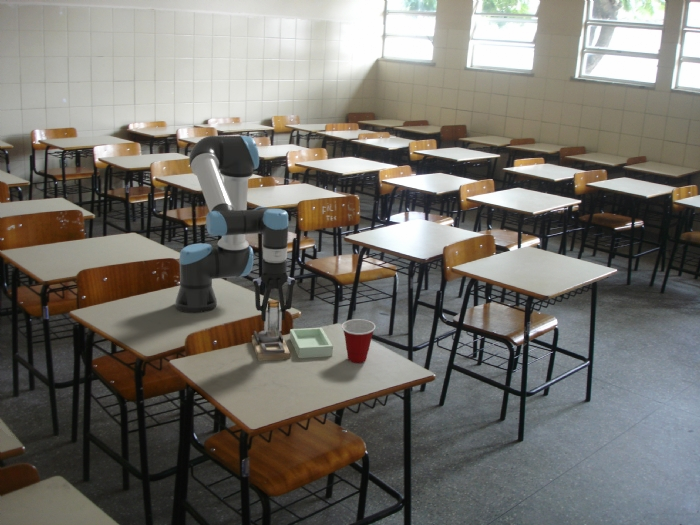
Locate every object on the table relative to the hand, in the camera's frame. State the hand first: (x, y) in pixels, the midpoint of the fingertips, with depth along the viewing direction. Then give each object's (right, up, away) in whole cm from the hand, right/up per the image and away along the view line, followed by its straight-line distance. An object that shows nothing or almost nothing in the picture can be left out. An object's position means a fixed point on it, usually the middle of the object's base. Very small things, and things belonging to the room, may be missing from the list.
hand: (272, 329), depth 225 cm
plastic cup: (+27, -10, +2) cm, 29 cm away
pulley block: (-1, -7, +6) cm, 10 cm away
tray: (+12, -7, +10) cm, 17 cm away
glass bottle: (0, -2, 0) cm, 2 cm away
